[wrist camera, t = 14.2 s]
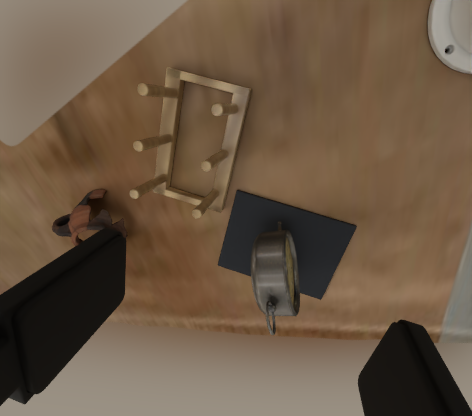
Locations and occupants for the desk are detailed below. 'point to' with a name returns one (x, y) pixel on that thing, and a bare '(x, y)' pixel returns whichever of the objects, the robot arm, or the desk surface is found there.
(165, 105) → the dowel rack
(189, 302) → the desk surface
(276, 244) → the alarm clock
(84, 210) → the pottery mug
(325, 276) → the desk mat
